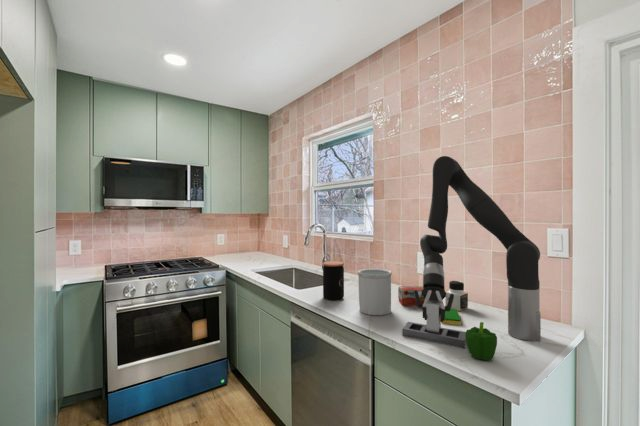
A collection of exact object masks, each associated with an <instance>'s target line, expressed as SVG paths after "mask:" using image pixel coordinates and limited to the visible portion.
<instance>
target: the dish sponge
mask: <svg viewBox="0 0 640 426" xmlns="http://www.w3.org/2000/svg"><path fill="white" fill-rule="evenodd" d="M461 319H462V318H461V317H460V314H459V311H458V310H457V309H451V310H450V311H449V312H448V311H446V312H445V320H444V321H443V322H441V324H447V325H456V326H461V325H462V320H461Z"/></svg>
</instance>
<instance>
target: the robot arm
mask: <svg viewBox="0 0 640 426" xmlns="http://www.w3.org/2000/svg"><path fill="white" fill-rule="evenodd" d="M449 187H450V188H451V189H452V190H453V191H454V192H455V193H456V194H457V196H458V198H459V199H460V202H461V203H462V205H463V206H464V208H465V210H466V211H467V212H468V213H469V214H470V215H471V217H472V218H473V219H474V220H475V221H476V222H477V223H478V224H479V225H480V226H481V227H483V228H484V229H485V230H486V231H488V232H489V233H491V234H492V235H493V236H494V237H496V239H498V241H499V242H500V243H501V245H503V247H504V249H506V253H505V254H506V260H505V261H506V262H505V264H506V278H507V329H508V330H507V332H508V333H507V334H508V335H510V337H514V338H516V339H517V340H518V339H520V340H523V341H531V342H532V341H533V342H534V341H538V342H541V334H542V332H541V323H542V322H541V321H542V319H541V318H542V317H541V310H540V306H541V305H540V298H541V297H540V283H541V282H540V277H539V260H540V259H541V251H540V248H539V247H538V246H537V245H536V244H535V243H534V242H533V241H532V240H530V238H528V237H527V236H525V234H524V233H523V232H521V231H520V230H519V229H518V228H517V227H516V226H515V225H514V223H513V222H512V221H511V219H509V217H508V216H507V215H506V213H505V212H504V211H503V210H502V209H501V208H500V207H499V205H498V204H497V203H496V202H495V201H494V199H492V198H491V197H490V196H489V194H487V193H486V192H485V190H483V189H482V188H481V187H480V186H478V185H477V184H476V183H475V182H474V181H473V180H471V178H470V177H469V175H468V174H467V173H466V171H464V169H463V168H462V166H461V165H460V164H459V162H458V161H457V160H456V159H454V158H453V157H450V156H446V155H443V156H439V157H437V158H436V159H435V160H434V162H433V165H432V189H431V200H430V201H431V202H430V209H429V213H428V214H429V215H428V220H427V221H428V222H427V228H428V229H430V230H432V231H436V232H437V233H438V235H435V234H434V235H433V234H424V235H422V236H421V238H420V241H419V245H420V249H421V250H420V251H421V252H422V255H423V262H424V264H423V271H422V273H423V275H422V286H423V289H422V291H416V290H415V291H414V295H415V299H416V303H417V306H416V307H417V308H418V309H422V319H424V321H427V311H426V302H427V301H428V300H429V299H432V300H439V301H441V304H440V306H441V311H440V316H441V322H443V321H444V320H445V312H446V311H448V312H449V311H450V310H451V306H452V303H453V299H454V294H447V293H446V292H447V291H446V290H445V289H446V288H445V287H446V285H445V271H444V257H443V256H442V254H444V253H446V251H447V249H448V240H447V231H446V230H447V221H448V214H449V199H448V198H449ZM421 295H423V296H424V298H425V301H424V303H423V304H421V302H420V297H421ZM445 297H447V300H448V304H447V306H445V305H444V301H443V300H444V299H445Z"/></svg>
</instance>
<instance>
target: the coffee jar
mask: <svg viewBox="0 0 640 426" xmlns="http://www.w3.org/2000/svg"><path fill="white" fill-rule="evenodd" d="M344 264H345V263H344V262H343V261H338V260H337V261H336V260H331V261H324V262H323V263H322V266H323V267H322V289H323V290H322V297H323V298H324V299H325V300H326V301H330V302H331V301H332V302H334V301H335V302H337V301H340V300H343V299H344V297H345V272H344V271H345V268H344Z"/></svg>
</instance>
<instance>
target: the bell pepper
mask: <svg viewBox="0 0 640 426" xmlns="http://www.w3.org/2000/svg"><path fill="white" fill-rule="evenodd" d="M465 332H466V333H465V337H466V347H467V351H468V353H469V354H470V356H471V357H472V358H473V359H476V360H483V361H488V362H489V361H492V360H493V359H494V357H495V354H496V350H497V345H498V337H497V335H496V333H494V332H491V331H490V330H489V329H488V328H485V327H484V322H483V321H480V322H479V327H477V326H473V327H471V328H470V329H467V330H466V331H465Z"/></svg>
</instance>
